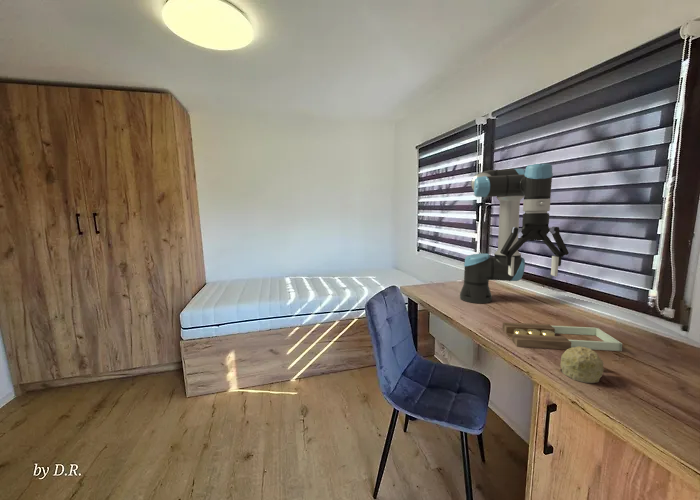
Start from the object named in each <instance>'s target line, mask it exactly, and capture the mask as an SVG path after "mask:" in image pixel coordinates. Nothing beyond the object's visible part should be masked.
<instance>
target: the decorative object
mask: <svg viewBox="0 0 700 500" xmlns="http://www.w3.org/2000/svg"><path fill="white" fill-rule="evenodd" d="M560 371H561V373H562V374H563V375H565V376H566V377H568V378H570V379H571V380H574V381H577V382H581V383H586V384H595V383H599V382H600V379H601V377H602V376H603V373H604V361H603V359H602V358H601V357H600V356H599V354H598V353H597V351H594V350H593V349H589V348H586V347H580V346H578V347H572V348H569V349H567V350H564V352H562V354H561V357H560Z"/></svg>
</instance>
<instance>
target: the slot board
mask: <svg viewBox="0 0 700 500" xmlns="http://www.w3.org/2000/svg"><path fill="white" fill-rule="evenodd" d="M552 326H553V325H551V324H548V323H547V324H546V323H527V322H526V323H525V322H506V321H505V322H504V321H503V322H502V329H501V330H503V331H504V333H505V334H506V335H507V336H508V337H509V339H510V340H511V341H512V343H513V344H514V345H515V347H517V348H518V347H519V348H532V349H533V348H535V349H553V350H564V351H566V350H567V349H569V348H571V342H570V341H569V340H570V339H568V338H567V337H565V336H560V335H559V336H557V335H555V336H541V333H540V335H522V334H514V329H523V330H525V331H527V329H536V330H539V331H540V332H541V331H542V330H549V331H552V332H554V333H555V329H554V328H553V327H552ZM555 334H556V333H555Z"/></svg>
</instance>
